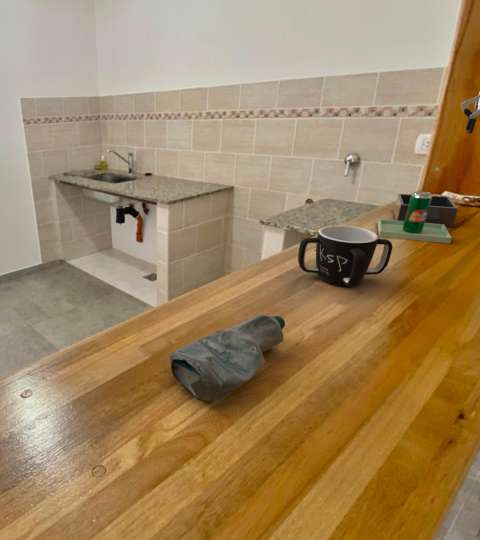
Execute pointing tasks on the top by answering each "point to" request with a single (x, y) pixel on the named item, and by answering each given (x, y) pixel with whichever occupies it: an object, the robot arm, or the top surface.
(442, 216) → the dark grey open box
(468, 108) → the robot arm
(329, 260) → the mug
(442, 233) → the tray
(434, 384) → the top surface
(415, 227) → the soda can
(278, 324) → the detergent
